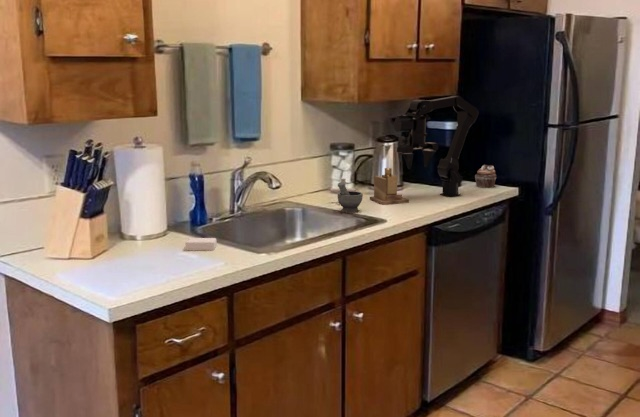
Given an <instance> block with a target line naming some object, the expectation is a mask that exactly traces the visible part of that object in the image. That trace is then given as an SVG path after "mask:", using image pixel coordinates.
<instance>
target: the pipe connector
mask: <svg viewBox="0 0 640 417" xmlns="http://www.w3.org/2000/svg"><path fill="white" fill-rule="evenodd" d="M340 182H344V183H345V184H346V178H345V177H342V178H340ZM346 189H347V191H356V190H357V189H356V188H346ZM339 192H341V191H340V189H339V188H330V193H331V194H338V193H339ZM356 192H357V191H356Z"/></svg>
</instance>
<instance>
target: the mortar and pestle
mask: <svg viewBox="0 0 640 417" xmlns="http://www.w3.org/2000/svg"><path fill="white" fill-rule="evenodd" d="M337 187H338V189H340V191H341V192H339V193H337V201H338V203H339V205H340V206H341V207H342V210H341V212H343V213H358V212H359V206H360V205H361V204H362V201H363V194H364V193H363V192H360V191H347V189H348V188H347V186H346V182H345V183H344V182H341V181H340V182H338V183H337Z"/></svg>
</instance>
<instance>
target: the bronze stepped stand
mask: <svg viewBox="0 0 640 417" xmlns="http://www.w3.org/2000/svg"><path fill="white" fill-rule="evenodd" d="M373 178H374V179H373V180H374V181H373V195H374V196H373V195H372V196H369V201H371V202H372V201H373V202H375V203H377V204H380V205H381V206H384V205H386V206H387V205H397V204H406V203H409V202H410V199H408V198H405V197H404V196H403V194H397V195H388V196H387V179H385V178H382V176H379V175H373Z"/></svg>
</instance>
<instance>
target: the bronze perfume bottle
mask: <svg viewBox="0 0 640 417" xmlns="http://www.w3.org/2000/svg"><path fill="white" fill-rule="evenodd" d="M392 169H393V168H392V167H385V168H384V174H381V177H382V178H385V179H387V196H388V195H398V176H397V175H394V174H393V173H392Z"/></svg>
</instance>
